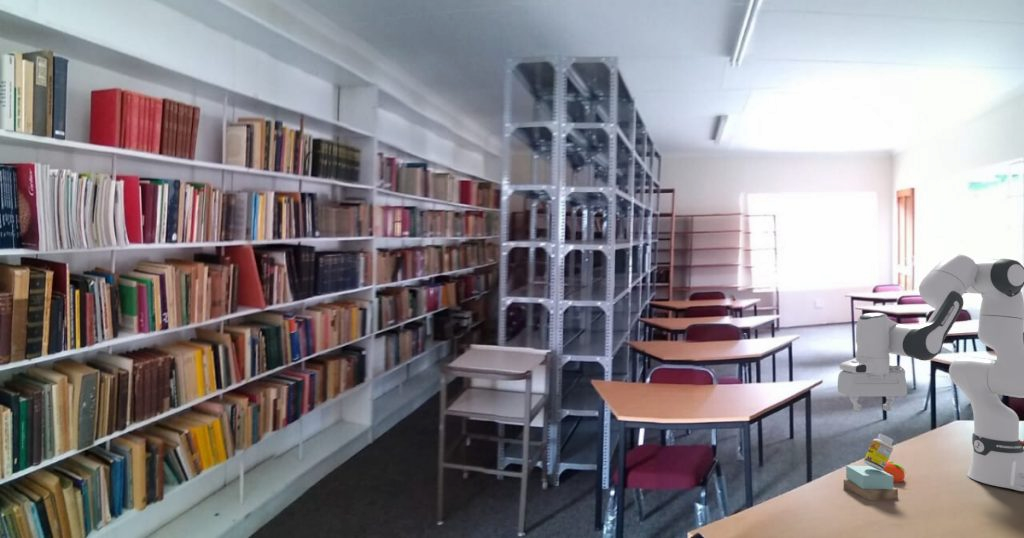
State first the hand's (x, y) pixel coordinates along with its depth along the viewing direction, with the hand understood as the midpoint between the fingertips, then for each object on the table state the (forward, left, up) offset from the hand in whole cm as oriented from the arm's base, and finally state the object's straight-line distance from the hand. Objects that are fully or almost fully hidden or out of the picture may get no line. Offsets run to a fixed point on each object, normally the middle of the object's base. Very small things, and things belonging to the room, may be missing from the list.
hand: (872, 410), depth 175 cm
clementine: (-14, -10, -27) cm, 32 cm away
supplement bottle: (0, 0, -18) cm, 18 cm away
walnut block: (0, 0, -27) cm, 27 cm away
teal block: (0, -1, -23) cm, 23 cm away
